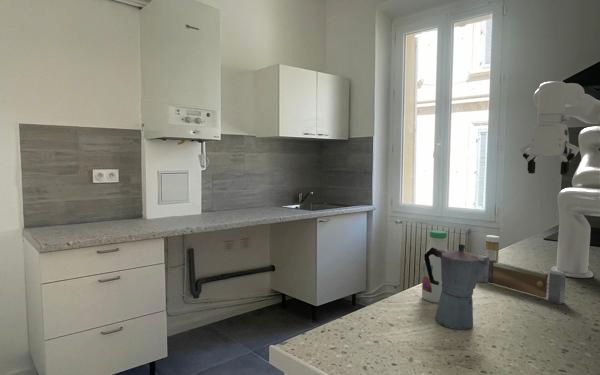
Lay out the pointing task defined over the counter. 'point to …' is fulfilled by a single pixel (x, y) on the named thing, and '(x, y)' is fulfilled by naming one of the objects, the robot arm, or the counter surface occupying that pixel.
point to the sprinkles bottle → (492, 247)
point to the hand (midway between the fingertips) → (547, 174)
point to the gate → (518, 278)
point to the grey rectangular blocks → (555, 283)
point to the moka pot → (456, 285)
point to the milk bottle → (434, 268)
